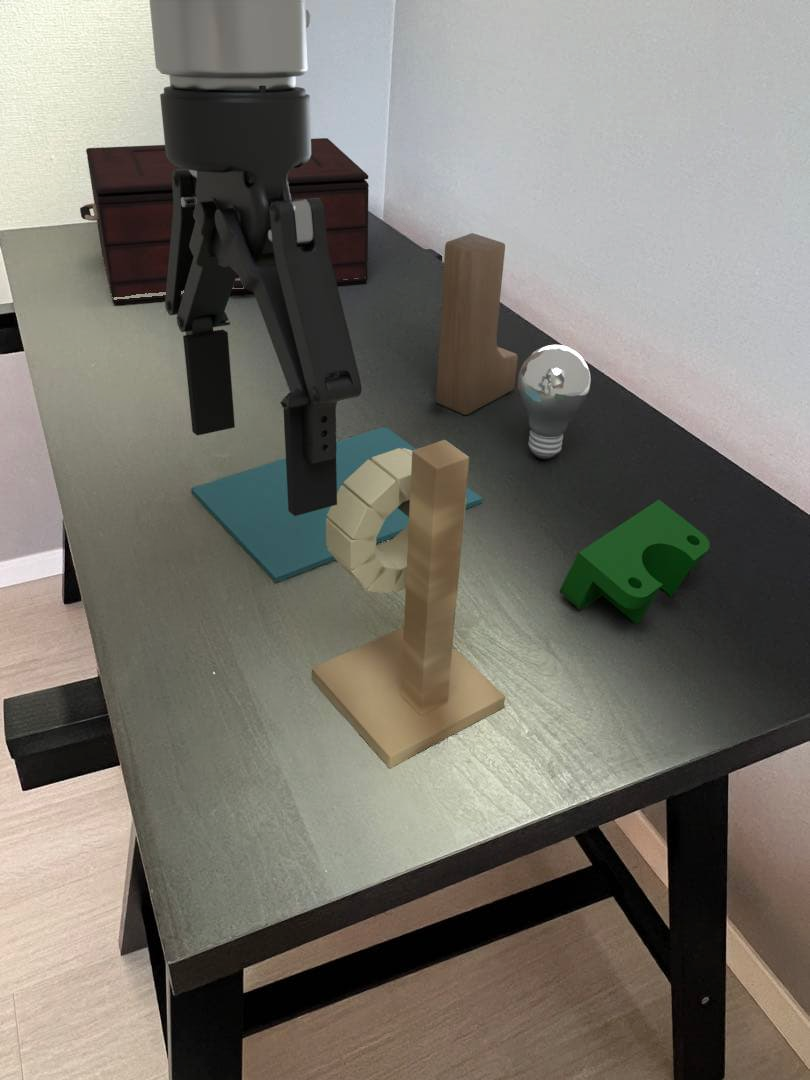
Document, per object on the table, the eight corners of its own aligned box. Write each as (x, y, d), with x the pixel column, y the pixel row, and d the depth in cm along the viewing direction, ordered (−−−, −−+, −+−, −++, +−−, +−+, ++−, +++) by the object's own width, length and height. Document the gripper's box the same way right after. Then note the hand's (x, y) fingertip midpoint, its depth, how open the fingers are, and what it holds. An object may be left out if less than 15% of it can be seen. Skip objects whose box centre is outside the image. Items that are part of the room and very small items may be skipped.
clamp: (610, 661, 78) (622, 618, 70) (556, 613, 81) (562, 566, 73) (705, 569, 81) (727, 518, 73) (651, 526, 84) (667, 471, 76)
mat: (275, 583, 78) (275, 577, 78) (191, 493, 88) (190, 487, 88) (482, 503, 89) (482, 497, 88) (385, 431, 99) (385, 426, 99)
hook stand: (389, 769, 63) (400, 504, 50) (311, 679, 69) (303, 425, 57) (504, 707, 68) (540, 452, 55) (421, 629, 74) (436, 385, 61)
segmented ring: (351, 612, 61) (351, 495, 56) (326, 587, 63) (324, 472, 57) (460, 565, 65) (470, 453, 60) (434, 543, 67) (442, 433, 62)
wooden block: (484, 377, 110) (498, 221, 99) (515, 390, 108) (533, 232, 97) (433, 403, 104) (443, 241, 94) (465, 417, 102) (479, 253, 91)
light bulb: (551, 483, 92) (568, 371, 85) (494, 457, 96) (506, 347, 88) (591, 457, 96) (610, 348, 89) (535, 433, 100) (550, 326, 93)
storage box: (97, 314, 120) (78, 193, 111) (86, 253, 138) (68, 144, 129) (386, 288, 131) (390, 176, 122) (342, 235, 148) (342, 133, 139)
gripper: (438, 97, 41) (425, 531, 51) (204, 69, 59) (229, 394, 69) (282, 101, 37) (302, 569, 47) (84, 71, 55) (129, 413, 65)
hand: (259, 466), depth 58 cm, fingers open, 13 cm apart
